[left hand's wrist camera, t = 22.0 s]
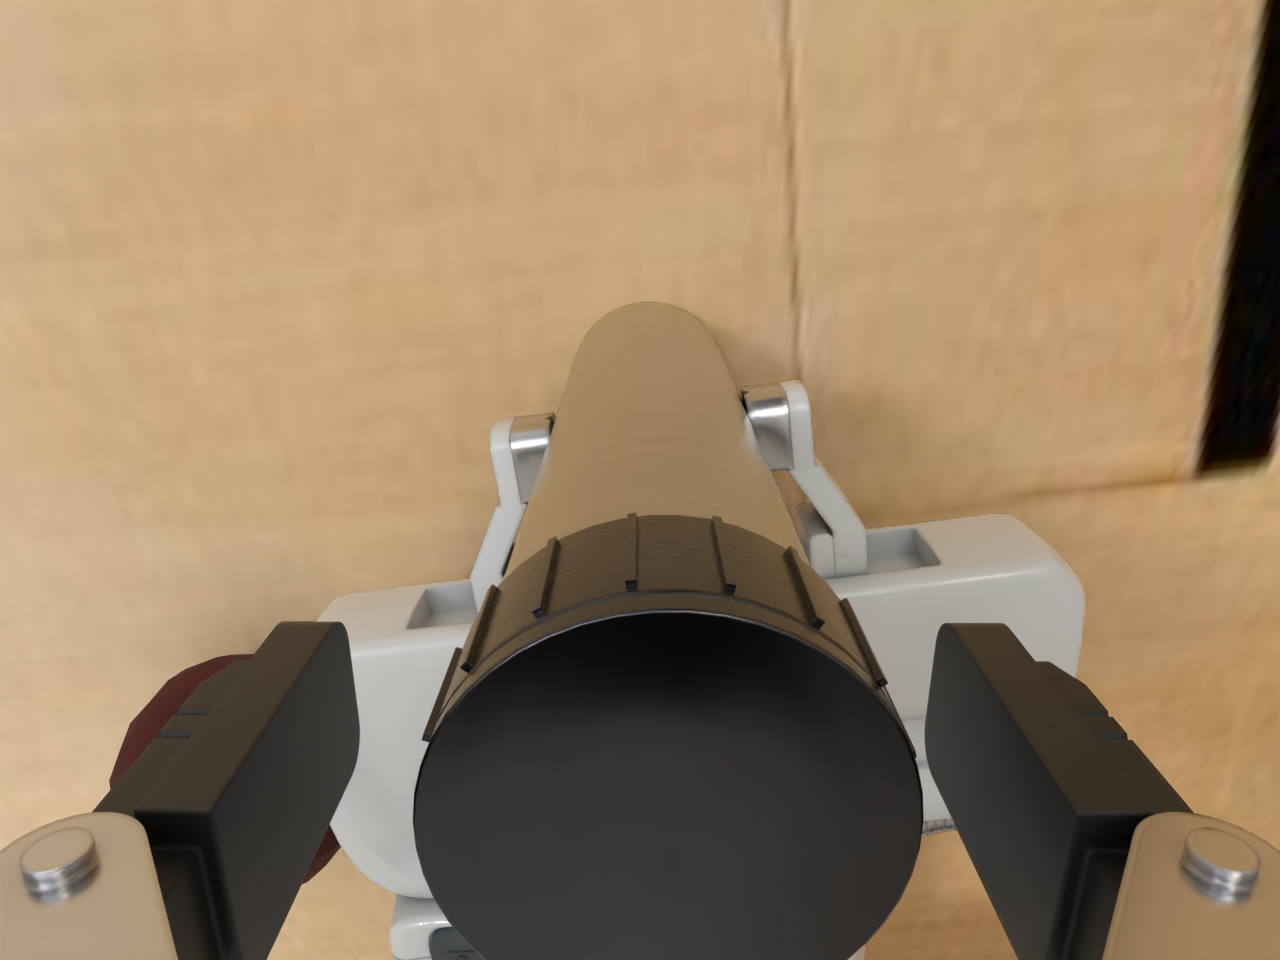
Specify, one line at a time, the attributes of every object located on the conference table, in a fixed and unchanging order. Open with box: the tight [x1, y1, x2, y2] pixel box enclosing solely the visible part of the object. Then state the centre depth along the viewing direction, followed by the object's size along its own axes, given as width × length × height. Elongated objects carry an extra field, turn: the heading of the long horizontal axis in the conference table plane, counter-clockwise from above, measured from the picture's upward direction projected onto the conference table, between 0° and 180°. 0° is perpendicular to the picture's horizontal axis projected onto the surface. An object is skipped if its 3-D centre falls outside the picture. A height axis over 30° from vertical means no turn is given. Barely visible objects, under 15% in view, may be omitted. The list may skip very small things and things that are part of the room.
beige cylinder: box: [504, 302, 811, 579], centre depth 19 cm, size 5×5×19 cm
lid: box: [413, 513, 924, 960], centre depth 10 cm, size 5×5×2 cm
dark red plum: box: [109, 654, 341, 884], centre depth 28 cm, size 7×8×7 cm
